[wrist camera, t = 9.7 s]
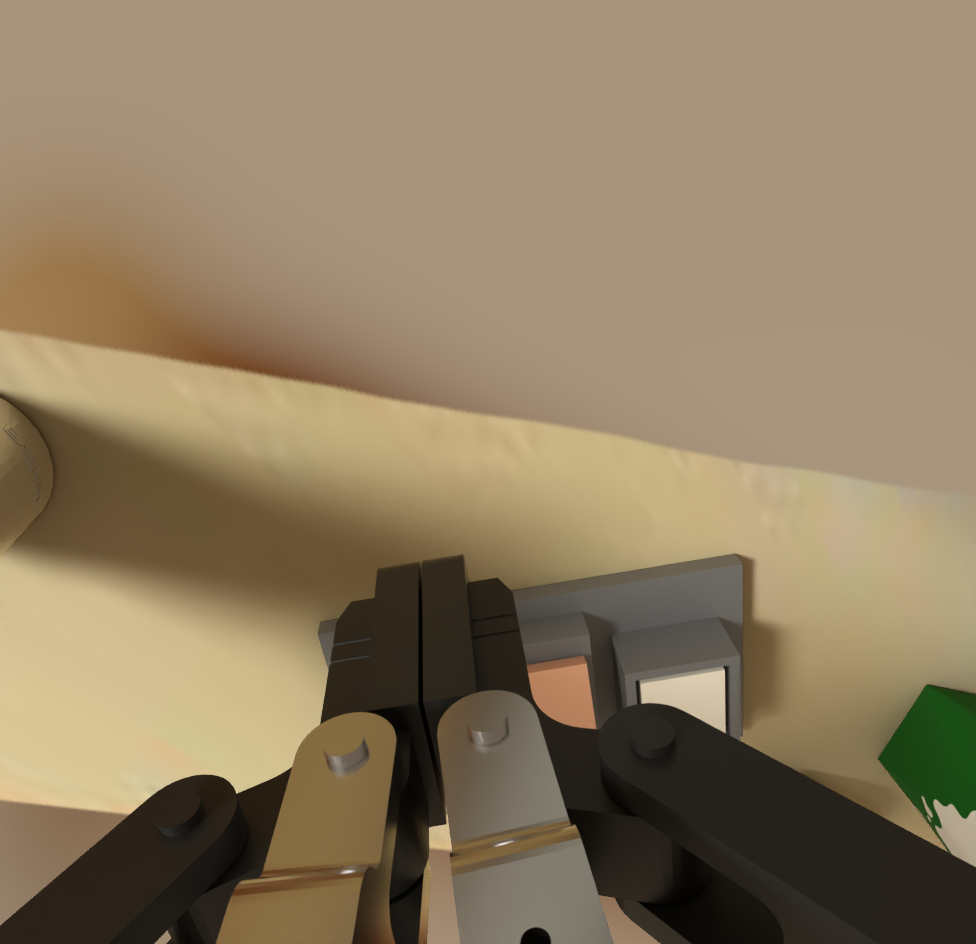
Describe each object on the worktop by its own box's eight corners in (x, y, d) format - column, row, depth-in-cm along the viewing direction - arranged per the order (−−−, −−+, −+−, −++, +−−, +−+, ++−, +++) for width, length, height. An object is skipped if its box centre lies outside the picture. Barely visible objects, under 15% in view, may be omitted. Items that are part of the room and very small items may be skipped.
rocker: (521, 795, 49) (524, 818, 47) (499, 661, 48) (501, 677, 45) (600, 782, 49) (607, 804, 47) (580, 647, 48) (586, 663, 45)
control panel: (367, 784, 54) (362, 846, 50) (320, 622, 48) (310, 676, 44) (736, 723, 55) (764, 779, 50) (735, 553, 49) (767, 600, 44)
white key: (631, 706, 51) (645, 746, 48) (626, 646, 49) (640, 683, 46) (706, 694, 51) (725, 733, 48) (705, 633, 49) (724, 669, 46)
